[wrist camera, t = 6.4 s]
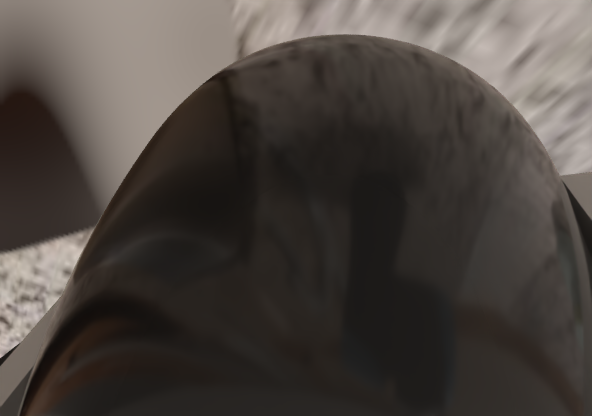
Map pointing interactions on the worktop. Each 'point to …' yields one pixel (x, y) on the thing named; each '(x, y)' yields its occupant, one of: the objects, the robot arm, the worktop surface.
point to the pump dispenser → (330, 253)
